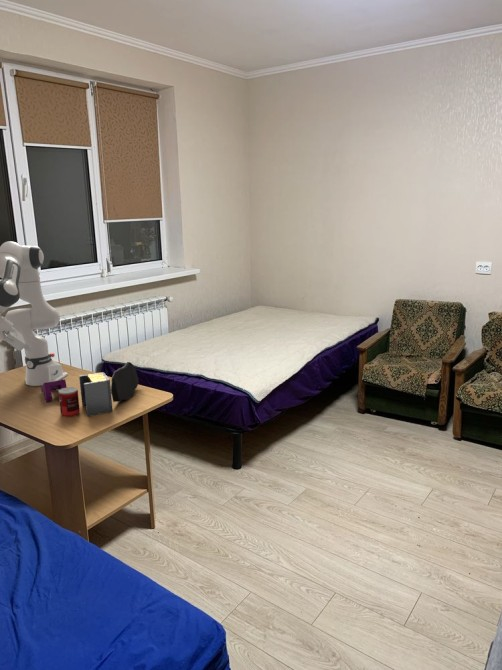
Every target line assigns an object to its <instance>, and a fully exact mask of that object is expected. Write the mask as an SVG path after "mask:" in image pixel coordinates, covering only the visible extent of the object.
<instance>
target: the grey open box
mask: <svg viewBox="0 0 502 670" xmlns="http://www.w3.org/2000/svg"><path fill="white" fill-rule="evenodd" d="M78 377H79V387H80V398H81V407H82V408H85V407H86V415H87V417H91V416H96V415H101V414H106V413H112V412H113V410H114V409H113V399H112V394H111V379H110V378H109V377H108V376H107V375H106V373H105V372H104V371H102V372H101V371H100V372H95V373H89V374H81V375H78Z"/></svg>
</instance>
